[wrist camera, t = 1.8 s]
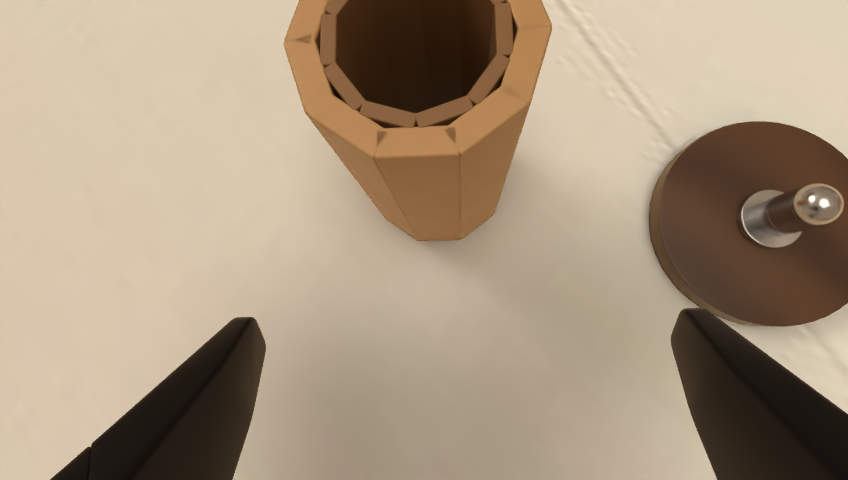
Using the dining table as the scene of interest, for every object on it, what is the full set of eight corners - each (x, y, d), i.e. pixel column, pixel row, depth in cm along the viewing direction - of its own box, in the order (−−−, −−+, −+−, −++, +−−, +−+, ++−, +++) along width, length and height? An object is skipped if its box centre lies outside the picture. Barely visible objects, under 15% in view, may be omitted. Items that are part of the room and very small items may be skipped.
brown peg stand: (795, 368, 22) (893, 383, 17) (611, 250, 24) (651, 232, 19) (896, 198, 23) (1018, 166, 18) (712, 95, 25) (777, 39, 20)
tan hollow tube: (456, 267, 24) (452, 212, 11) (348, 193, 25) (234, 66, 12) (529, 162, 25) (603, -2, 12) (420, 94, 26) (382, -122, 13)
